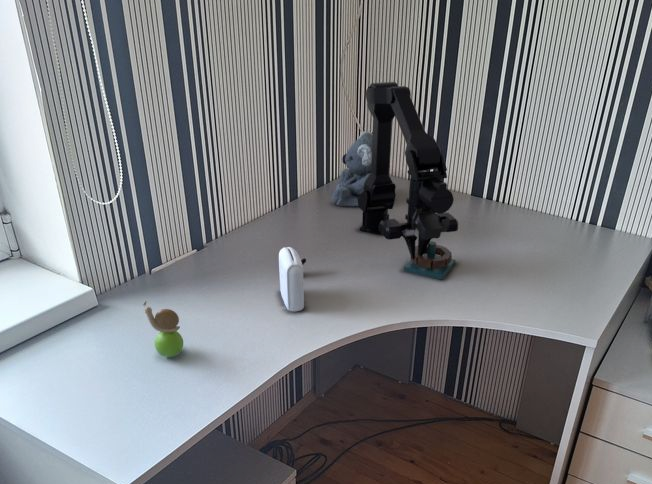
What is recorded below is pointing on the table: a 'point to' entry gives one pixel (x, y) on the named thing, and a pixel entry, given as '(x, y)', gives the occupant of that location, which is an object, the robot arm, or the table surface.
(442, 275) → the post stand
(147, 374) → the table surface
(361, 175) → the koala plush
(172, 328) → the snail figurine
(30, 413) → the table surface
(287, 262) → the white toy toaster
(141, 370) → the table surface
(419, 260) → the ring
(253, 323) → the table surface
